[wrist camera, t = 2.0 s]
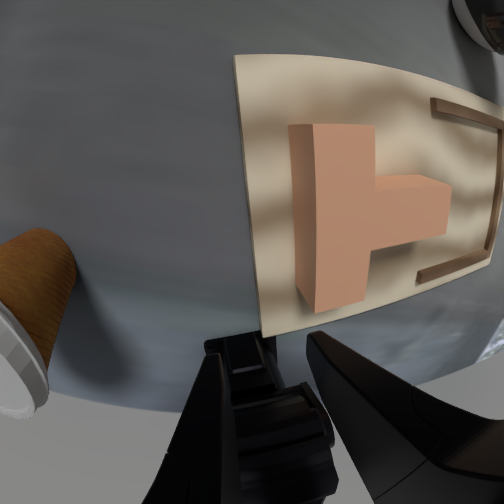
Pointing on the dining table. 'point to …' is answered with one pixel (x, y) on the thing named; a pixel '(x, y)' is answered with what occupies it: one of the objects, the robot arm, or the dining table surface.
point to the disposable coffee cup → (31, 316)
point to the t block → (352, 210)
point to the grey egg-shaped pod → (482, 22)
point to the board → (386, 163)
